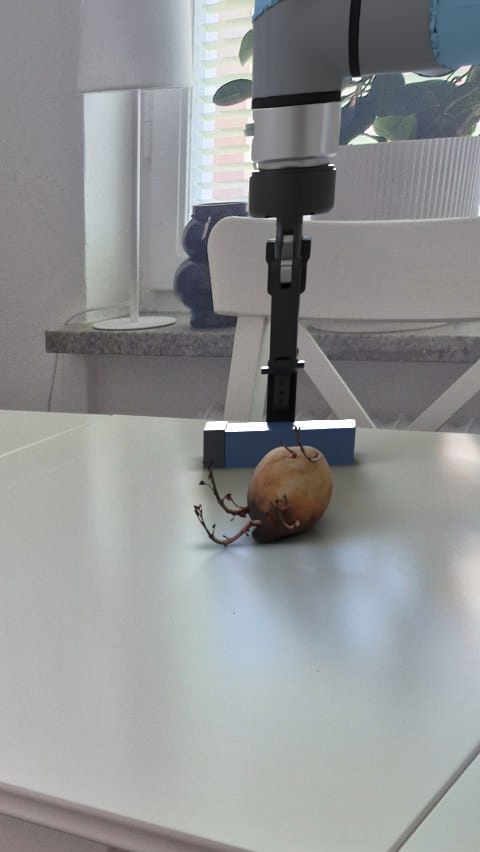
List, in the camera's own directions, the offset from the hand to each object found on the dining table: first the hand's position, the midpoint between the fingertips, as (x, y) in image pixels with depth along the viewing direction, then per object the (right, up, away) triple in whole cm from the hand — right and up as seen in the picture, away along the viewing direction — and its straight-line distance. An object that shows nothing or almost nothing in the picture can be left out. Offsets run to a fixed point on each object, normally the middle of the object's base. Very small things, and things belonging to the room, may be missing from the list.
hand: (279, 442), depth 114 cm
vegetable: (-6, -13, -18) cm, 23 cm away
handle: (-1, -3, -1) cm, 3 cm away
